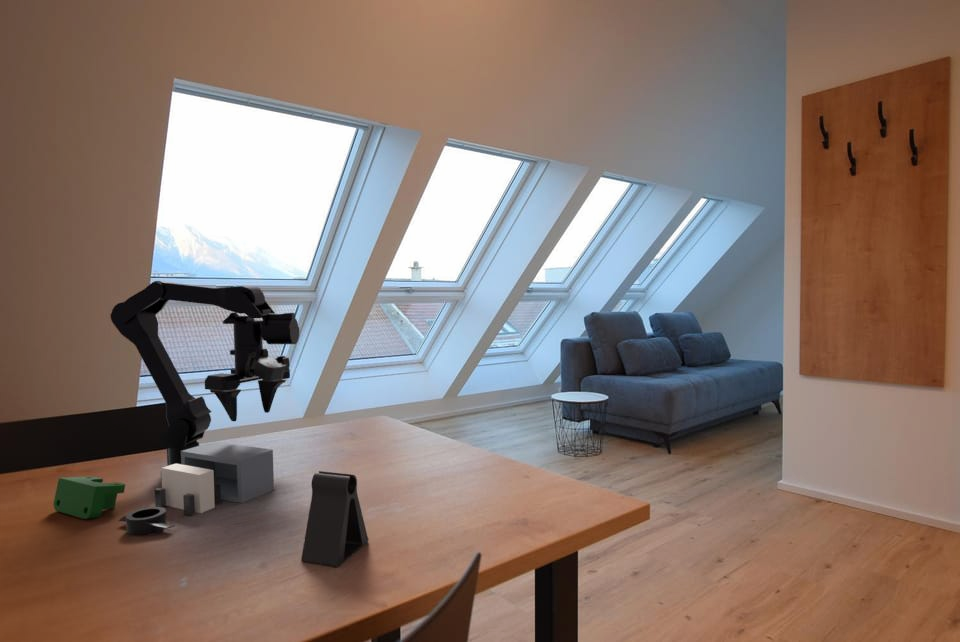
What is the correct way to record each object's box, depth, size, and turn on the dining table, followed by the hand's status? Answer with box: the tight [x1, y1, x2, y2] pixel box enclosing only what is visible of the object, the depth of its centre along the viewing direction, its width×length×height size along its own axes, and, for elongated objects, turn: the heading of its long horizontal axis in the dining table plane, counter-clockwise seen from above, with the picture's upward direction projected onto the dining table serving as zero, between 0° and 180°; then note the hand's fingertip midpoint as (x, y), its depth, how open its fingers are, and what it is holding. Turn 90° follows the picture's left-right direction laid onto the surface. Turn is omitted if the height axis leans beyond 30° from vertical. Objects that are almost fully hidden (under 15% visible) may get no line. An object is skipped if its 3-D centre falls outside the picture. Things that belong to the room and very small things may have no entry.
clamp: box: [53, 476, 126, 520], centre depth 108 cm, size 12×6×9 cm, turn 57°
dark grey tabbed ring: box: [118, 506, 175, 537], centre depth 99 cm, size 8×10×3 cm
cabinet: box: [181, 441, 275, 504], centre depth 117 cm, size 16×8×8 cm, turn 65°
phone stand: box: [300, 470, 369, 568], centre depth 89 cm, size 9×6×12 cm, turn 161°
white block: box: [160, 464, 216, 514], centre depth 109 cm, size 10×4×7 cm, turn 65°
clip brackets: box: [154, 484, 222, 517], centre depth 109 cm, size 9×7×4 cm
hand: (250, 416), depth 129 cm, fingers open, 9 cm apart
